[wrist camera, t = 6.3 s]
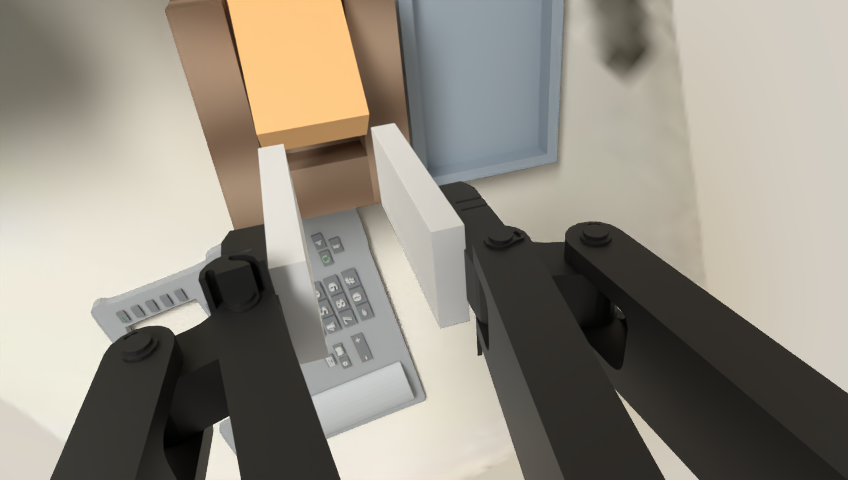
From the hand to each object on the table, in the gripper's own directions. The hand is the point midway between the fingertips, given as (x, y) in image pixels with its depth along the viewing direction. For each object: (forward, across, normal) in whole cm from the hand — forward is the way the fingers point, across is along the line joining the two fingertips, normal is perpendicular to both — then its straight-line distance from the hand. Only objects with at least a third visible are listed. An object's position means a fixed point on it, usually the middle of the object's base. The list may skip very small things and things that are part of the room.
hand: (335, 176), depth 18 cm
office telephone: (+22, -6, -24) cm, 33 cm away
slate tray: (+21, +12, +1) cm, 24 cm away
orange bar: (+15, 0, +3) cm, 16 cm away
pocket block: (+21, 0, -2) cm, 21 cm away
